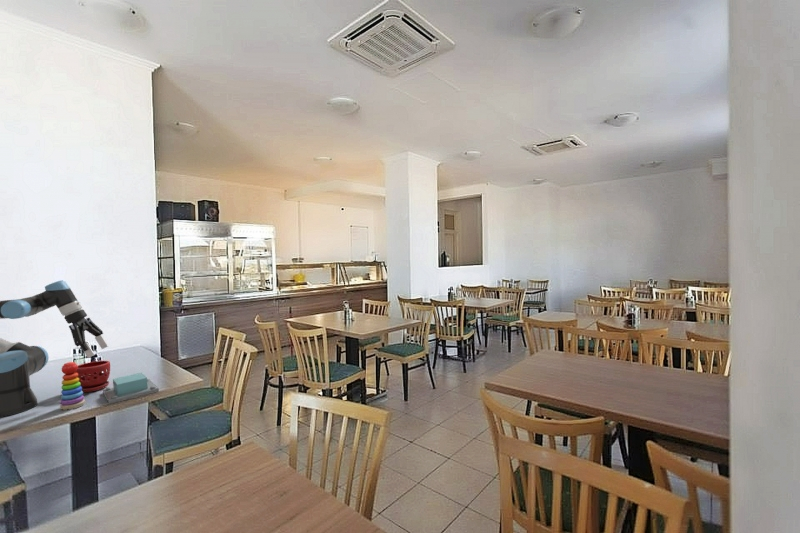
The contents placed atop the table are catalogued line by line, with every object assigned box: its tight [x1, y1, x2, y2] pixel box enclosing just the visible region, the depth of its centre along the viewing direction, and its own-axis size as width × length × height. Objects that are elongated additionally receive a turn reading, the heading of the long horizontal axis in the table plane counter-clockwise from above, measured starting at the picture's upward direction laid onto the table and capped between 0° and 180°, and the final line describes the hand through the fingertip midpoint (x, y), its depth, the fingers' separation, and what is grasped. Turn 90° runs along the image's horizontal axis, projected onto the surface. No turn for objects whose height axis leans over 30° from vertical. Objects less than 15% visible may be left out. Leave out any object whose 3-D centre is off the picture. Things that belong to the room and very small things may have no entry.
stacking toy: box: [59, 361, 86, 411], centre depth 156 cm, size 8×8×19 cm
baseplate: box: [102, 372, 160, 405], centre depth 170 cm, size 18×18×6 cm
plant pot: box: [75, 360, 111, 393], centre depth 177 cm, size 13×13×12 cm
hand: (98, 351), depth 176 cm, fingers open, 13 cm apart
